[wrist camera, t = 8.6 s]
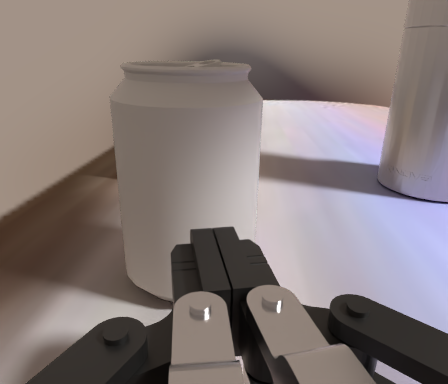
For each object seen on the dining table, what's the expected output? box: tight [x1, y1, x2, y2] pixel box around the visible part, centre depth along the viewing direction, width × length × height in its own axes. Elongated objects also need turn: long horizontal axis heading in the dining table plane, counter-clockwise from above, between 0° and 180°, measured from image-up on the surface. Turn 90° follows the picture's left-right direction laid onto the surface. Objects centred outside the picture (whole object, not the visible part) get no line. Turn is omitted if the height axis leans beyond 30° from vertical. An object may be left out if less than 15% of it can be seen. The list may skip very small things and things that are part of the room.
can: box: [110, 60, 263, 302], centre depth 20 cm, size 8×8×12 cm
